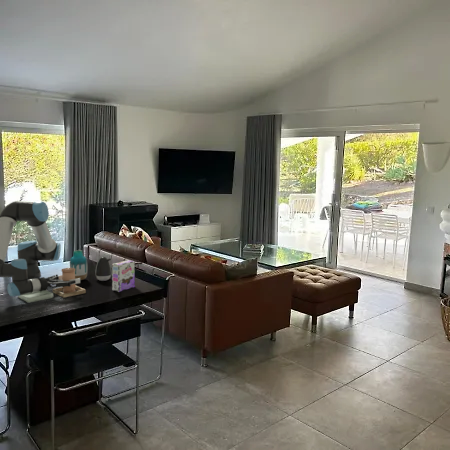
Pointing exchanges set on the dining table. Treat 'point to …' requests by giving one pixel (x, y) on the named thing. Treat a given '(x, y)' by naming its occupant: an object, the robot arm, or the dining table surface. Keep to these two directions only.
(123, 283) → the candy box
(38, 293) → the green tray
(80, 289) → the oak corral
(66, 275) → the canister
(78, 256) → the vase
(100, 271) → the pump dispenser
